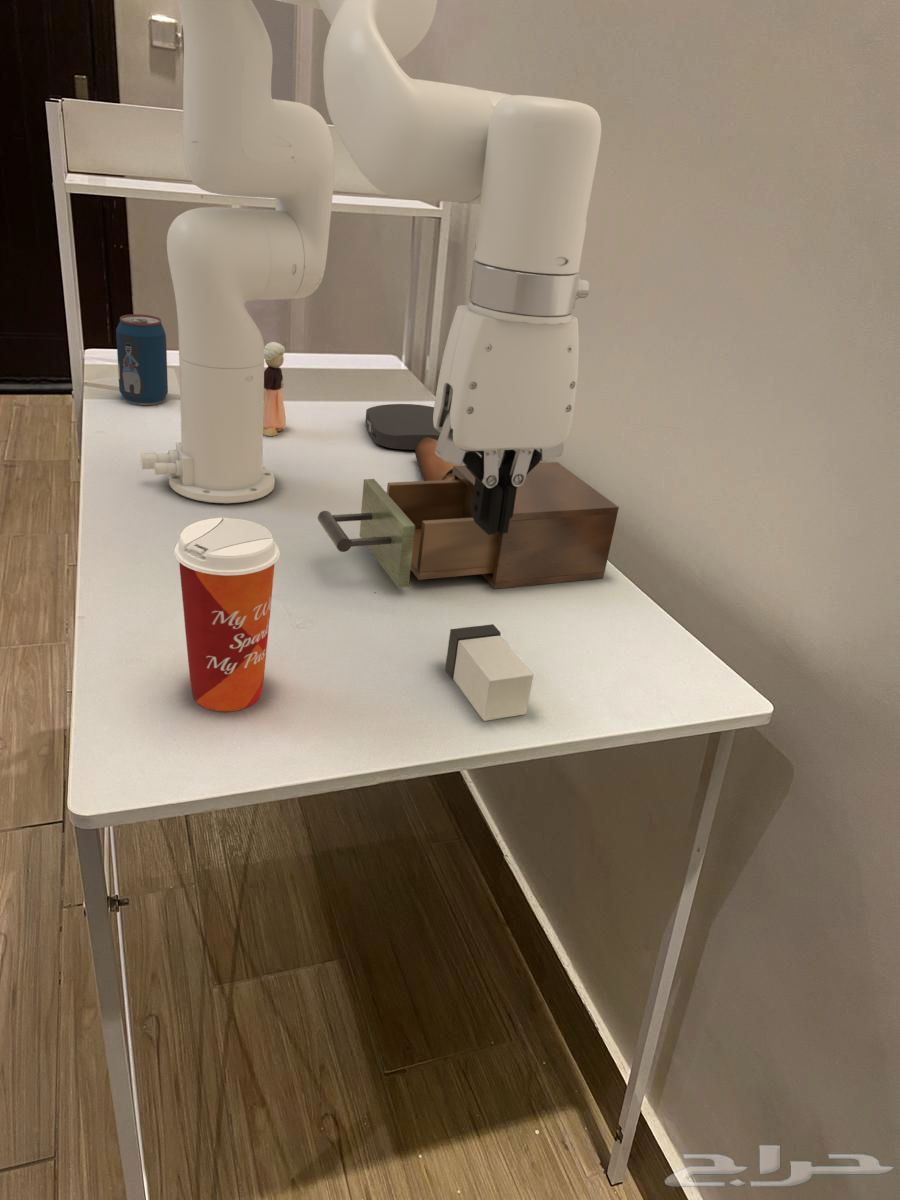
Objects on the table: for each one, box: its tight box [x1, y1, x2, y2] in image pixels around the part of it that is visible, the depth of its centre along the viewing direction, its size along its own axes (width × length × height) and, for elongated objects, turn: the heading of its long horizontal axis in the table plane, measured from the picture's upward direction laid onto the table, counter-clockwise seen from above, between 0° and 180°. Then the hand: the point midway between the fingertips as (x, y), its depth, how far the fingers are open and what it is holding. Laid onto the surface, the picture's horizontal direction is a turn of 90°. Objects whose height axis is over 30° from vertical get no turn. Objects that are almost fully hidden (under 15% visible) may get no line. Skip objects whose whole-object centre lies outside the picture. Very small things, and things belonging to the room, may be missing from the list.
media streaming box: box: [364, 403, 440, 451], centre depth 137 cm, size 15×15×3 cm
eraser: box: [444, 623, 534, 722], centre depth 78 cm, size 8×4×4 cm, turn 23°
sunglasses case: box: [414, 438, 464, 481], centre depth 120 cm, size 18×7×7 cm
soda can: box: [115, 313, 169, 406], centre depth 135 cm, size 7×7×12 cm
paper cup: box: [173, 517, 281, 712], centre depth 71 cm, size 8×8×14 cm
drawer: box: [317, 478, 499, 589], centre depth 96 cm, size 18×12×7 cm
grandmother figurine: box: [263, 341, 287, 437], centre depth 129 cm, size 8×4×13 cm, turn 179°
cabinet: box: [452, 461, 620, 590], centre depth 102 cm, size 14×14×9 cm
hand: (490, 527), depth 74 cm, fingers closed
